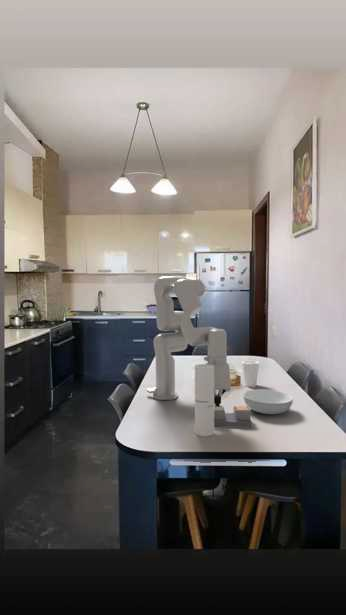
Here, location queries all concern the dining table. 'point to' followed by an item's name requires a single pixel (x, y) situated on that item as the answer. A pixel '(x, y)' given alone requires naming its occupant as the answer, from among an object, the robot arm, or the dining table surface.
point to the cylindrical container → (204, 399)
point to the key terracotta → (241, 408)
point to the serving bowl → (268, 401)
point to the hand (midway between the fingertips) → (217, 405)
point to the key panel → (232, 418)
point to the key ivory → (218, 408)
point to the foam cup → (250, 372)
